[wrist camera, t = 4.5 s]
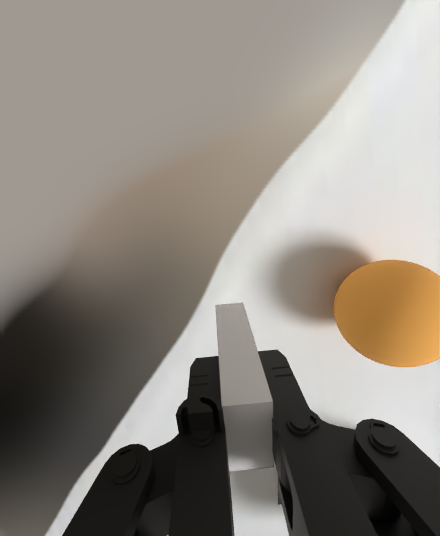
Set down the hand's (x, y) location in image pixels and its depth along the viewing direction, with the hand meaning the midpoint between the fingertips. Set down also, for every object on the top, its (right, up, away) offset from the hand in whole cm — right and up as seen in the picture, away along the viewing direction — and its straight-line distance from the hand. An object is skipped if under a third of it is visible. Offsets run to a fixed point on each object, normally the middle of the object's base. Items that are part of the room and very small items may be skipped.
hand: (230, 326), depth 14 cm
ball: (+9, +1, +1) cm, 9 cm away
